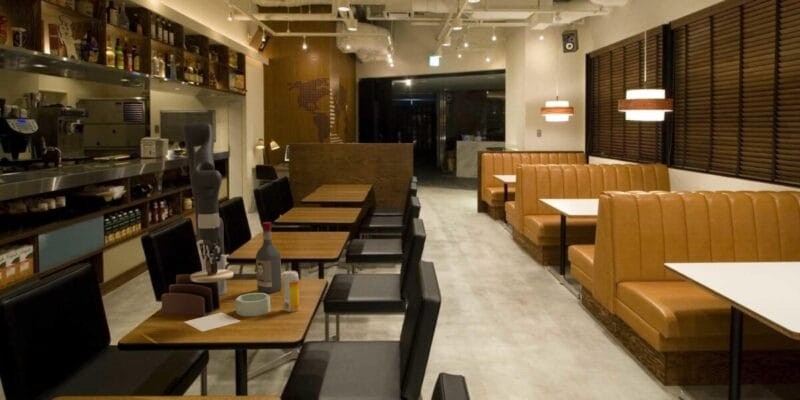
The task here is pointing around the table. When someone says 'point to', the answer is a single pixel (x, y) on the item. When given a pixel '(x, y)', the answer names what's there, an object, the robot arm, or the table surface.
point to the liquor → (268, 264)
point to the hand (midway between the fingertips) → (211, 272)
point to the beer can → (291, 291)
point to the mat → (212, 321)
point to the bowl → (253, 304)
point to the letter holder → (191, 297)
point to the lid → (211, 275)
